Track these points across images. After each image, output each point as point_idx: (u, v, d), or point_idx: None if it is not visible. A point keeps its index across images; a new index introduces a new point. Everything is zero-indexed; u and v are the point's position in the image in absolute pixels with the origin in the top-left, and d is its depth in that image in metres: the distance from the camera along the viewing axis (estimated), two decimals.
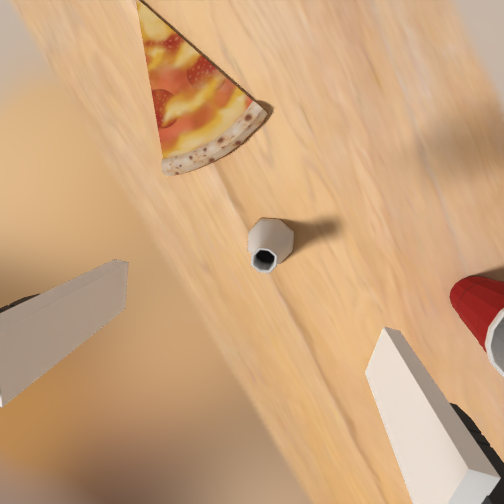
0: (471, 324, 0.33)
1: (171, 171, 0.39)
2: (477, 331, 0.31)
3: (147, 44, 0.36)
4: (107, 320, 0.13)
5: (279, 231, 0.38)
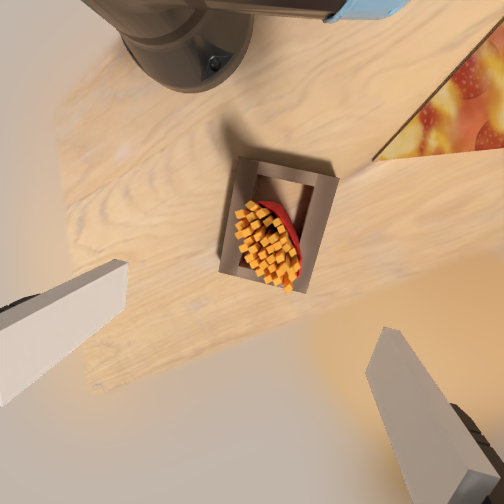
0: None
1: None
2: None
3: (423, 150, 0.31)
4: (107, 320, 0.13)
5: None
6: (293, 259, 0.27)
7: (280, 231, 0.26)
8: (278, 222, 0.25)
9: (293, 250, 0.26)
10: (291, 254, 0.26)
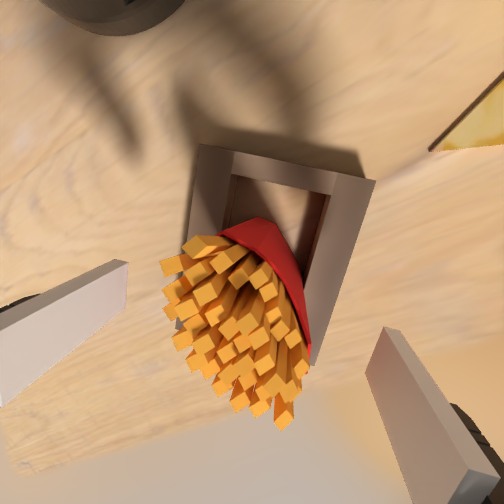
0: None
1: None
2: None
3: None
4: (107, 320, 0.13)
5: None
6: None
7: (266, 297, 0.12)
8: (262, 278, 0.12)
9: (294, 334, 0.12)
10: (290, 343, 0.12)
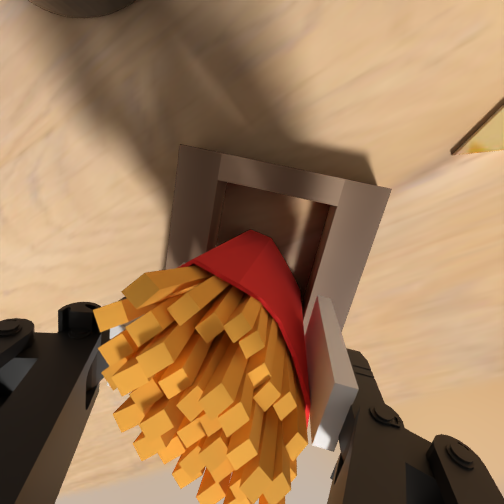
0: None
1: None
2: None
3: None
4: None
5: None
6: None
7: (249, 351, 0.09)
8: (243, 326, 0.09)
9: (287, 399, 0.09)
10: (281, 412, 0.09)
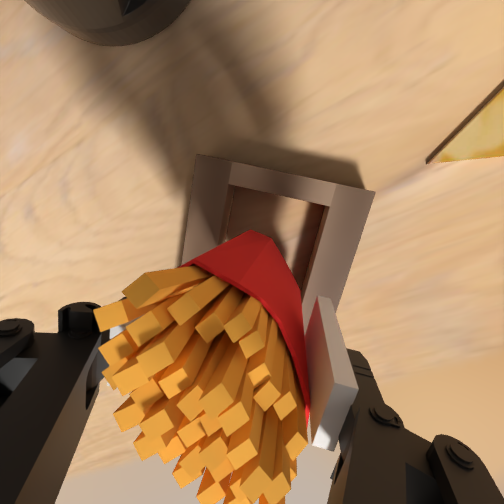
0: None
1: None
2: None
3: None
4: None
5: None
6: None
7: (249, 351, 0.09)
8: (243, 326, 0.09)
9: (287, 398, 0.09)
10: (281, 412, 0.09)
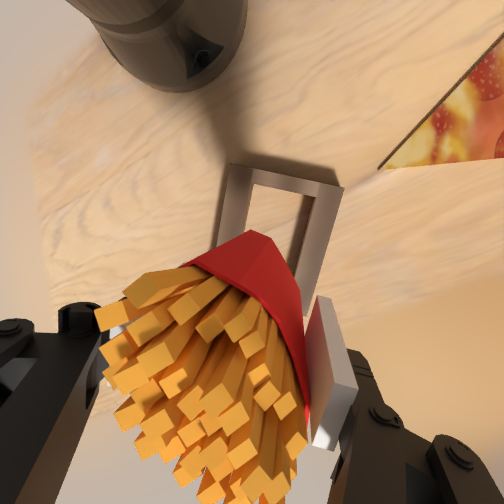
0: None
1: None
2: None
3: (435, 158, 0.28)
4: None
5: None
6: None
7: (249, 351, 0.09)
8: (243, 326, 0.09)
9: (287, 398, 0.09)
10: (281, 412, 0.09)
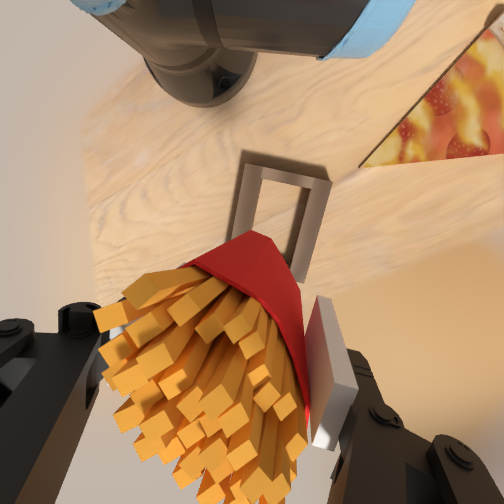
0: None
1: None
2: None
3: (402, 159, 0.36)
4: None
5: None
6: None
7: (249, 352, 0.09)
8: (243, 327, 0.09)
9: (287, 399, 0.09)
10: (281, 413, 0.09)
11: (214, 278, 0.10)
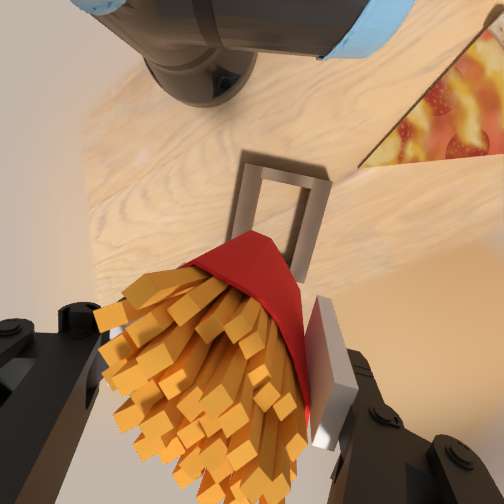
0: None
1: None
2: None
3: (401, 159, 0.36)
4: None
5: None
6: None
7: (249, 352, 0.09)
8: (243, 327, 0.09)
9: (287, 399, 0.09)
10: (281, 413, 0.09)
11: (214, 278, 0.10)
